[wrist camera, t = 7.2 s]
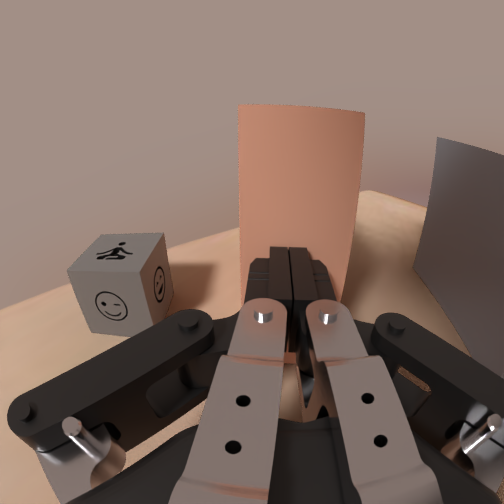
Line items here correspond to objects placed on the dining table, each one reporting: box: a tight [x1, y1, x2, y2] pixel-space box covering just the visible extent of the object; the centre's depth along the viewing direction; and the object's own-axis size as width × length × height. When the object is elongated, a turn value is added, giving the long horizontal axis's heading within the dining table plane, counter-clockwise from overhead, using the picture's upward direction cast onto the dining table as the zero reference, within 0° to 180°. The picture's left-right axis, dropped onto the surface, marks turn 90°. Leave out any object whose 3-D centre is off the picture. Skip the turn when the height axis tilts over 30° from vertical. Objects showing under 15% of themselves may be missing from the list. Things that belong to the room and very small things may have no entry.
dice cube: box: [67, 233, 174, 337], centre depth 17 cm, size 5×5×5 cm
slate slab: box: [413, 137, 504, 379], centre depth 13 cm, size 15×4×12 cm, turn 176°
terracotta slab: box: [238, 104, 365, 364], centre depth 18 cm, size 15×4×12 cm, turn 175°
